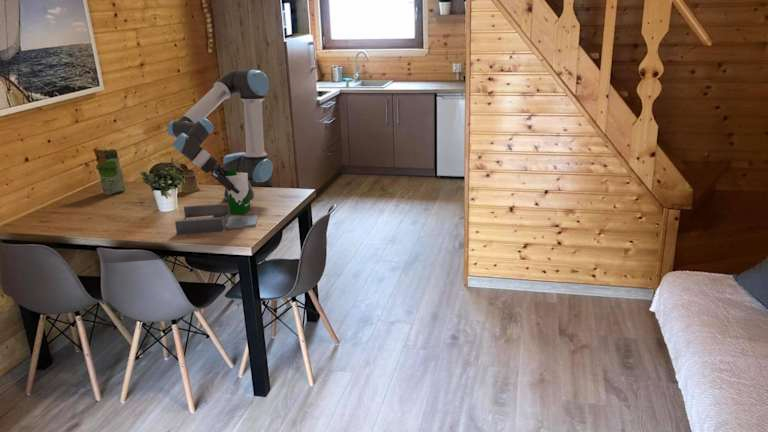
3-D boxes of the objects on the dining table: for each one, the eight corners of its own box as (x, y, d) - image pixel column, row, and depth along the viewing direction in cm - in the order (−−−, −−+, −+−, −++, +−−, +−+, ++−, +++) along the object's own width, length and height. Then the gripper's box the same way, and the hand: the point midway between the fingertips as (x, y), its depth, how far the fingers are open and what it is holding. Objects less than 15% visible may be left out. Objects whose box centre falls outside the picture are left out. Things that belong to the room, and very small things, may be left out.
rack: (186, 218, 299) (184, 206, 297) (229, 215, 301) (227, 203, 299) (177, 234, 278) (175, 221, 276) (223, 231, 280) (221, 218, 278)
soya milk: (235, 209, 293) (230, 167, 286) (253, 210, 291) (249, 167, 285) (227, 215, 285) (222, 172, 278) (245, 216, 283) (241, 173, 277)
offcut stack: (185, 227, 287) (183, 217, 285) (221, 224, 288) (220, 214, 287) (182, 232, 281) (181, 221, 280) (219, 229, 283) (218, 219, 281)
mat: (229, 218, 296) (229, 216, 295) (258, 216, 297) (257, 214, 296) (226, 228, 283) (226, 226, 283) (255, 226, 285) (255, 224, 284)
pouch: (127, 193, 343) (119, 147, 334) (103, 197, 337) (95, 151, 328) (123, 188, 352) (115, 144, 343) (100, 192, 346) (91, 147, 337)
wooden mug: (180, 187, 349) (175, 155, 343) (202, 188, 346) (198, 156, 340) (171, 192, 341) (166, 160, 335) (194, 193, 338) (189, 160, 332)
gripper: (203, 161, 290) (242, 192, 296) (195, 174, 269) (237, 207, 276) (214, 149, 288) (253, 181, 295) (207, 161, 268) (248, 194, 275)
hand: (245, 193), depth 286 cm, fingers closed on soya milk, 9 cm apart
